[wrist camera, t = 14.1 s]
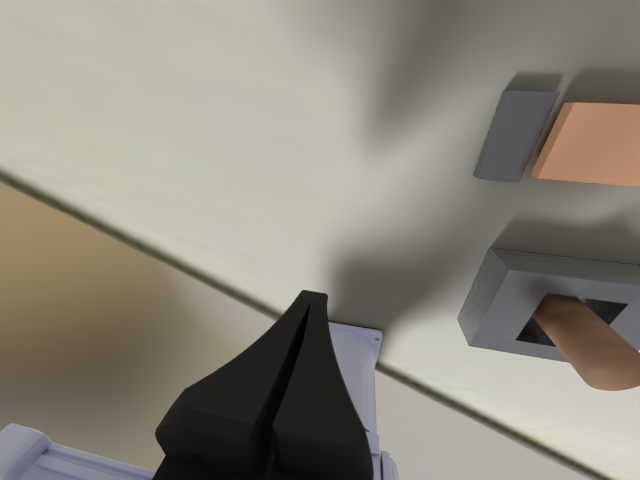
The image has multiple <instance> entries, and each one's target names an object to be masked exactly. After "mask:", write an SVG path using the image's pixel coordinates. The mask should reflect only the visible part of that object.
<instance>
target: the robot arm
mask: <svg viewBox="0 0 640 480" xmlns="http://www.w3.org/2000/svg"><path fill="white" fill-rule="evenodd" d="M327 300H328V295H327V294H324V293H318V292H313V291H307V290H302V291H301V292H300V294H299V295H298V297H297V298H296V299H295V301H294V302H293V303H292V305H291V306H290V307H289V308H288V309H287V311H286V312H285V313H284V314H283V315H282V316H281V317H280V318H279V320H278V321H277V322H276V323H275V324H274V325H273V326H272V327H271V328H270V329H269V330H268V331H267V332H266V333H265V334H263V335H262V336H261V337H260V338H259V339H258V340H257V341H256V342H254V343H253V344H252V345H251V346H250V347H248V348H247V349H246V350H245V351H243V352H242V353H241V354H239V355H238V356H237V357H236V358H234V359H233V360H231V361H230V362H228V363H227V364H225V365H224V366H222V367H221V368H219V369H218V370H217V371H215V372H214V373H212V374H210V375H208V376H207V377H205V378H203V379H202V380H200V381H198V382H196V383H195V384H193V385H191V386H190V387H188V388H186V389H185V390H184V391H183V392H182V394H181V395H180V396H179V397H178V398H177V400H176V401H175V402H174V404H173V405H172V406H171V408H170V409H169V411H168V412H167V414H166V415H165V417H164V418H163V420H162V421H161V423H160V424H159V426H158V427H157V429H156V432H155V435H156V438H157V441H158V443H159V445H160V446H161V448H162V450H163V451H164V453H165V455H166V456H165V458H164V459H163V461H162V463H161V465H160V466H159V468H158V470H157V471H156V472H155V471H151V470H148V469H144V468H141V467H137V466H134V465H130V464H126V463H123V462H119V461H116V460H112V459H109V458H105V457H102V456H98V455H95V454H91V453H87V452H84V451H80V450H77V449H73V448H70V447H66V446H63V445H59V444H55V443H52V442H51V439H50V438H49V437H48V436H47V435H45V434H44V433H42V432H40V431H38V430H35V429H32V428H28V427H25V426H21V425H18V424H14V423H12V424H9V425H8V426H6V427H5V428H4V429H3V430H2V431H1V432H0V480H399V478H398V471H397V466H396V464H395V462H394V461H393V460H392V458H391V457H390V454H389V453H388V452H386V451H381V459H380V456H379V435H377V430H376V399H375V365H376V361H377V357H378V353H379V349H380V345H381V341H382V337H383V334H382V332H381V331H379V330H374V329H368V328H362V327H356V326H350V325H343V324H337V323H331V322H328V315H327Z"/></svg>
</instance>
